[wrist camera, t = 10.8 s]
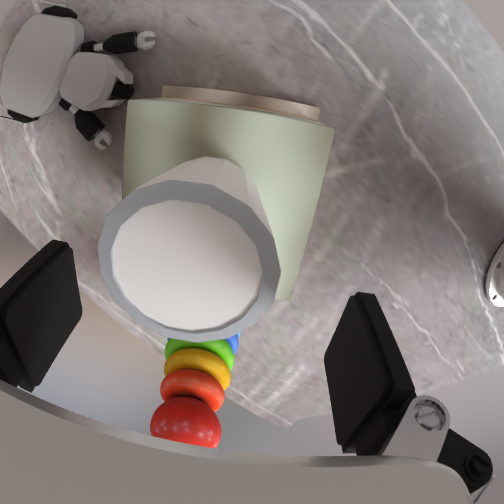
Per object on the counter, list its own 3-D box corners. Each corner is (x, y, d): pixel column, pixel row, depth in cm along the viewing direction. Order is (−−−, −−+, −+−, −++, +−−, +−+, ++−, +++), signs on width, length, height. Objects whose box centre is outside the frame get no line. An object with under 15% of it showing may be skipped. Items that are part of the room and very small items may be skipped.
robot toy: (171, 34, 21) (48, 3, 17) (160, 25, 18) (24, -3, 13) (118, 151, 27) (9, 109, 22) (100, 163, 23) (-16, 117, 19)
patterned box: (317, 107, 24) (357, 116, 14) (287, 242, 30) (300, 314, 20) (166, 85, 23) (113, 82, 13) (154, 221, 29) (111, 284, 20)
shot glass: (139, 239, 18) (91, 312, 12) (168, 128, 15) (111, 153, 9) (246, 274, 19) (242, 361, 13) (291, 171, 16) (315, 223, 10)
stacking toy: (175, 258, 31) (112, 419, 15) (253, 266, 31) (250, 439, 15) (177, 317, 35) (137, 466, 18) (245, 324, 35) (240, 480, 19)
